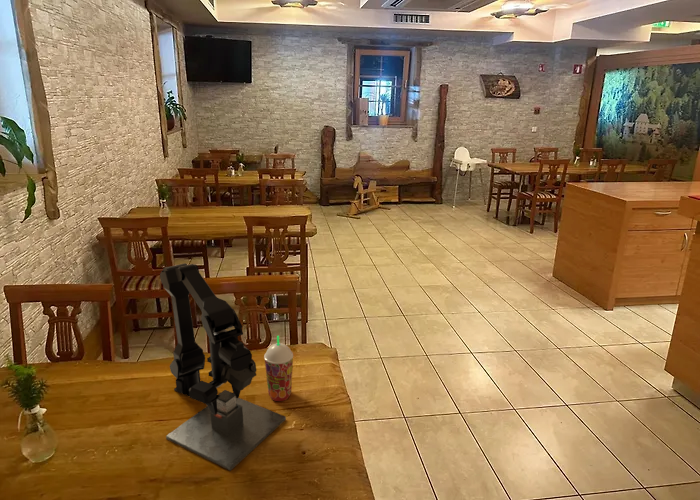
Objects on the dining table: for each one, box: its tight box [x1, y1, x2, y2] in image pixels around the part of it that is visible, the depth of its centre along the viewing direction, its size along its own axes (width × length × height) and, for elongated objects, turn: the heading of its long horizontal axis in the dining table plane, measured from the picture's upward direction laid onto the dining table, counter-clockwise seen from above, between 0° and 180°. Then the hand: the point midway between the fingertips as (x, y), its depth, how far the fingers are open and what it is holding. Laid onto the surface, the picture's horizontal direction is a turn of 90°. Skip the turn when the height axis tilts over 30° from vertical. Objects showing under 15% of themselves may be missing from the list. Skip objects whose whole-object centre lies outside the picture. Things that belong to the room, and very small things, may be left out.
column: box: [217, 389, 236, 416], centre depth 127 cm, size 4×4×9 cm
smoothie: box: [263, 335, 294, 402], centre depth 140 cm, size 8×8×20 cm
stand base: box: [165, 397, 287, 472], centre depth 128 cm, size 22×22×6 cm
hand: (226, 405), depth 126 cm, fingers open, 8 cm apart
